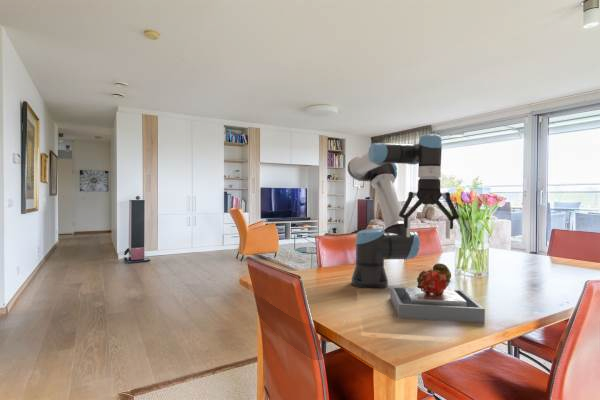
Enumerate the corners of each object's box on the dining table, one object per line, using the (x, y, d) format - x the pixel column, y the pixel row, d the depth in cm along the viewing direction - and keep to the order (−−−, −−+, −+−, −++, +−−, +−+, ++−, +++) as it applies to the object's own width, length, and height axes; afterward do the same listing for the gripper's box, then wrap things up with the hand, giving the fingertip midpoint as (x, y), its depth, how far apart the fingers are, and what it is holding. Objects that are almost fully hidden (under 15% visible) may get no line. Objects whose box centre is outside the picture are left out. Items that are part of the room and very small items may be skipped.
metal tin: (410, 315, 103) (410, 298, 103) (403, 301, 117) (403, 286, 117) (466, 318, 101) (466, 301, 101) (452, 303, 115) (452, 288, 115)
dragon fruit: (415, 300, 107) (442, 301, 112) (434, 290, 101) (461, 291, 106) (406, 275, 112) (432, 277, 117) (424, 263, 106) (451, 266, 111)
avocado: (458, 280, 152) (459, 262, 152) (443, 284, 144) (444, 265, 144) (441, 276, 159) (441, 259, 159) (426, 280, 151) (426, 262, 151)
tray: (398, 321, 101) (398, 304, 101) (390, 300, 121) (390, 286, 120) (484, 326, 97) (484, 308, 97) (461, 304, 117) (461, 290, 117)
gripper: (394, 178, 120) (393, 237, 120) (469, 178, 115) (467, 240, 116) (392, 178, 127) (391, 234, 128) (463, 179, 123) (461, 237, 124)
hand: (427, 237), depth 122 cm, fingers open, 13 cm apart
